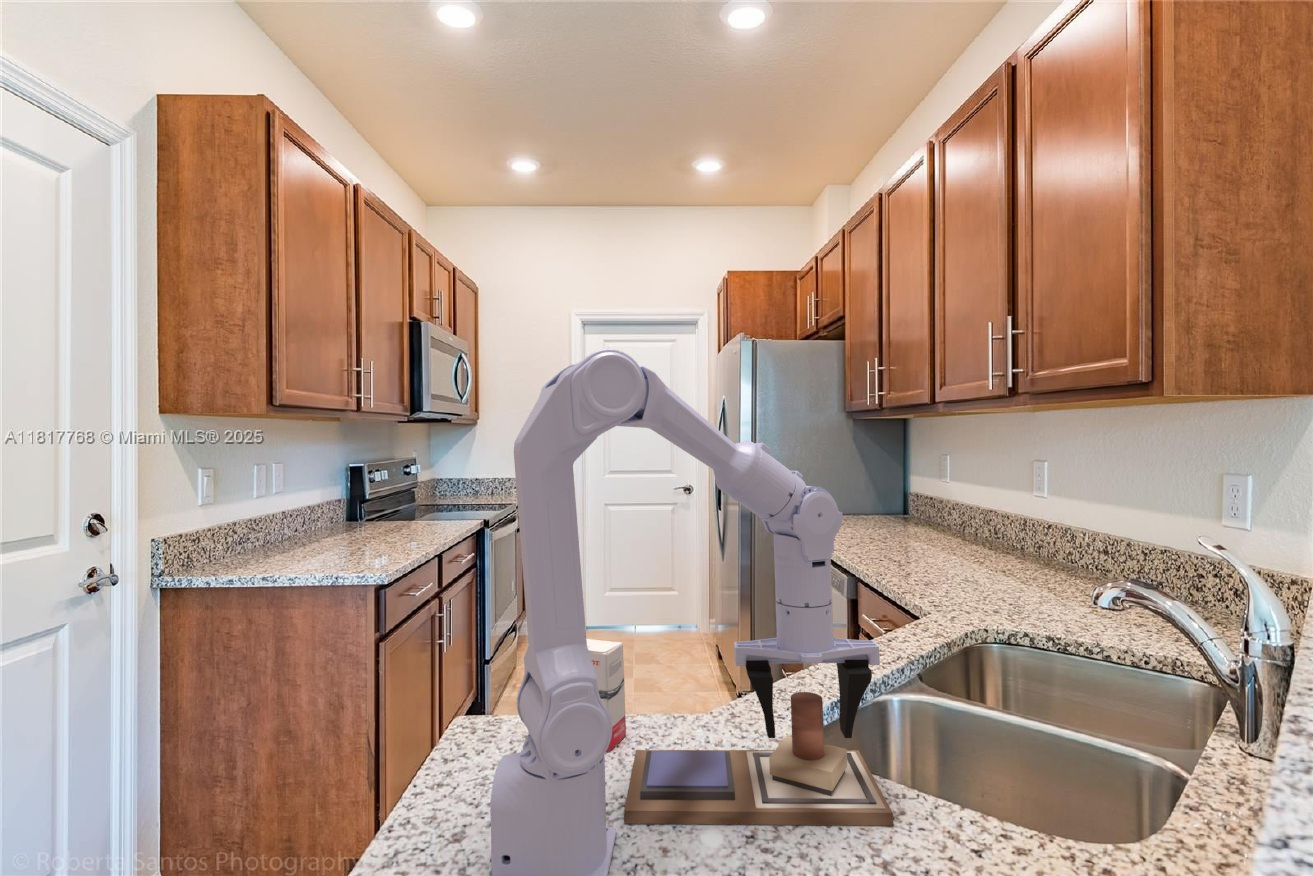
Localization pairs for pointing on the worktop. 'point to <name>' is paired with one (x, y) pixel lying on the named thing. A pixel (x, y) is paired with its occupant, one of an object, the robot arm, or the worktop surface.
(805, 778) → the stamp
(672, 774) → the desk board
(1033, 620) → the worktop surface
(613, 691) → the ink box
